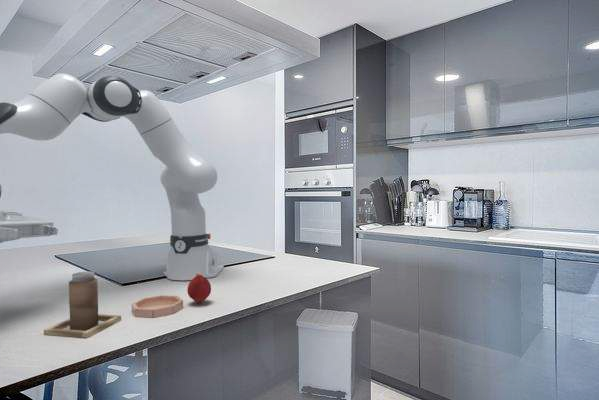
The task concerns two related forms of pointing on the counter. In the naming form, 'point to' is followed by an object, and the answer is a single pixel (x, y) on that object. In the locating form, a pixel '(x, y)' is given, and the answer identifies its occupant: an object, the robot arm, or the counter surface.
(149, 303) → the dish
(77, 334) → the holder frame
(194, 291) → the onion
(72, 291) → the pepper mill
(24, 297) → the counter surface
